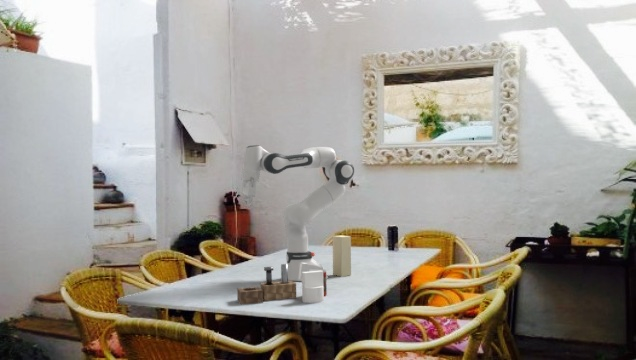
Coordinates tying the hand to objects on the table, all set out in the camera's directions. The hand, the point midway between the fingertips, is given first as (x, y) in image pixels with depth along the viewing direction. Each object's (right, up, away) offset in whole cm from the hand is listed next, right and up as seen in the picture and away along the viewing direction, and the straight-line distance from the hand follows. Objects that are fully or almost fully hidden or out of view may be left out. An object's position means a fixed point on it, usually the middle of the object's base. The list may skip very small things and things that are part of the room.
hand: (247, 204), depth 262 cm
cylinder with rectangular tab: (+33, -38, -42) cm, 66 cm away
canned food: (+35, -38, -32) cm, 61 cm away
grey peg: (+21, -38, -33) cm, 55 cm away
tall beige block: (+48, -39, +20) cm, 65 cm away
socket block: (+18, -38, -34) cm, 55 cm away
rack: (+7, -39, -41) cm, 57 cm away
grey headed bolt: (+14, -34, -36) cm, 51 cm away
